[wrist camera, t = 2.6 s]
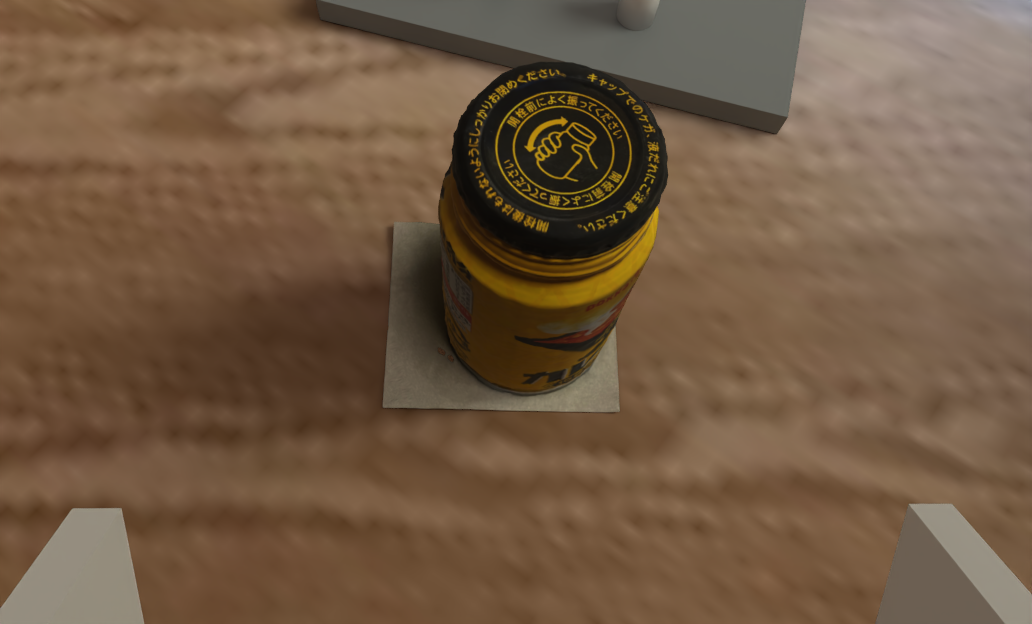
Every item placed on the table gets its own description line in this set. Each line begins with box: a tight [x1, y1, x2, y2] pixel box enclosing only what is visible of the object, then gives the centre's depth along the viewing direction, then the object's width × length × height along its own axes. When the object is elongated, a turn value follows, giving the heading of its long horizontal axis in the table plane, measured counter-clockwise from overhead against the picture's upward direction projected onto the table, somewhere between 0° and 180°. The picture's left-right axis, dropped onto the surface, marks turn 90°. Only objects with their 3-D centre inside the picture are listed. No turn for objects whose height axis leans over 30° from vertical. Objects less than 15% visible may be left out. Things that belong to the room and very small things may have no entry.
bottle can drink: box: [383, 62, 668, 412], centre depth 25 cm, size 7×8×12 cm
